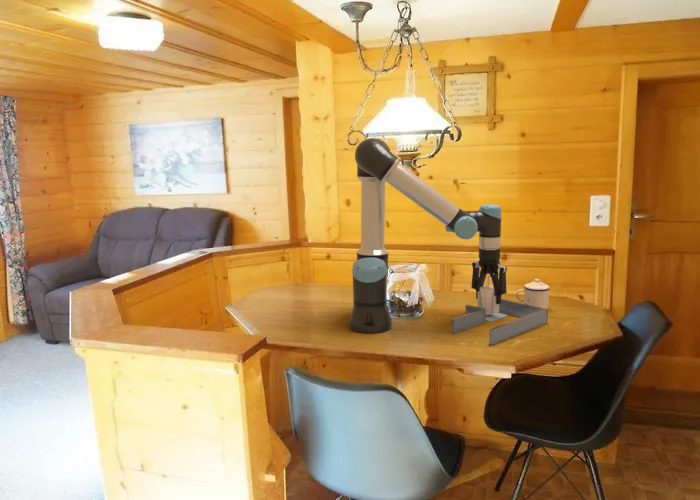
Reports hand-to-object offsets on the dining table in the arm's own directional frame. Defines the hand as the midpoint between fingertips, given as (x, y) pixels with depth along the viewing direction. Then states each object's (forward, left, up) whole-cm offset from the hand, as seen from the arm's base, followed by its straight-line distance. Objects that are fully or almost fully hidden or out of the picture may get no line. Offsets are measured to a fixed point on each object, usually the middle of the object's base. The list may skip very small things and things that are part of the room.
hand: (488, 310), depth 200 cm
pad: (0, 0, -2) cm, 2 cm away
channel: (-8, -8, -2) cm, 11 cm away
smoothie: (0, 0, -1) cm, 1 cm away
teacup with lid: (+19, -6, -3) cm, 20 cm away
